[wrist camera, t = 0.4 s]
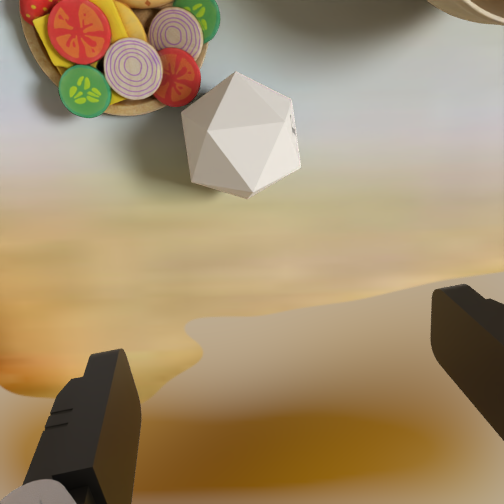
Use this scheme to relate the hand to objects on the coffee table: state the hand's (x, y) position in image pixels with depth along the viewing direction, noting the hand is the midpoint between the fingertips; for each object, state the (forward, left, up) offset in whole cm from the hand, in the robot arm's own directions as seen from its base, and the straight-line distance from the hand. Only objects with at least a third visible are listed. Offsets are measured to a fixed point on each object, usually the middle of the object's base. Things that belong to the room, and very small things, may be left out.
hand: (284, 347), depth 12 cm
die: (-2, +2, -28) cm, 28 cm away
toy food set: (-10, -6, -28) cm, 30 cm away
